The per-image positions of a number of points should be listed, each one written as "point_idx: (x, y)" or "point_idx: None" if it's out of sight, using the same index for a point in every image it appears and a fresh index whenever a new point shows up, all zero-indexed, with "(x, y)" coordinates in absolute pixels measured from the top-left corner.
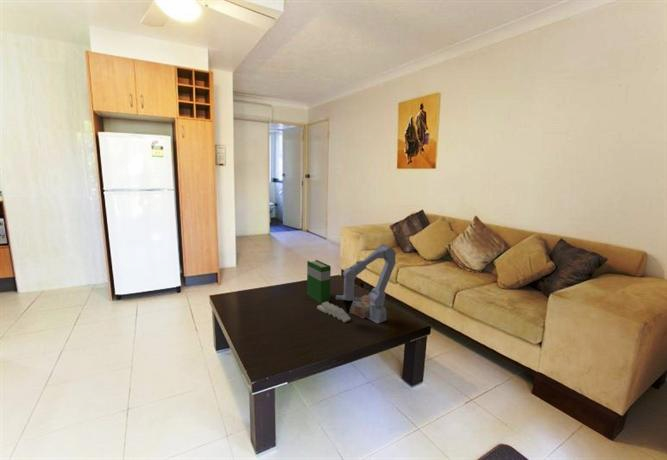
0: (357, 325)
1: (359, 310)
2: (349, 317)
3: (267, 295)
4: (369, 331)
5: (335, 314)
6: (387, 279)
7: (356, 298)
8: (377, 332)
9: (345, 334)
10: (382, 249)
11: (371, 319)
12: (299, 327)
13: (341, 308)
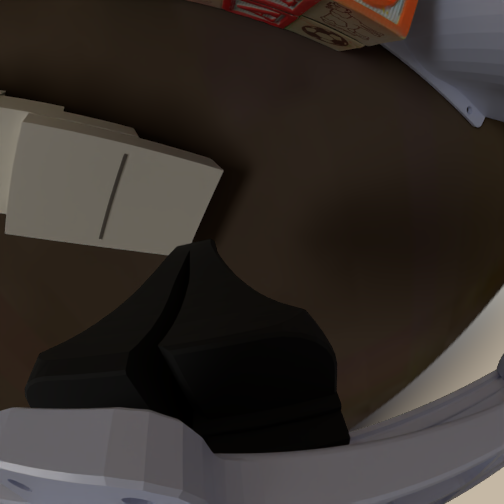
0: (322, 228)
1: (306, 11)
2: (204, 172)
3: None
4: (422, 272)
5: None
6: None
7: (459, 493)
8: (466, 258)
9: None
10: None
11: (427, 73)
12: (10, 396)
13: (31, 129)
